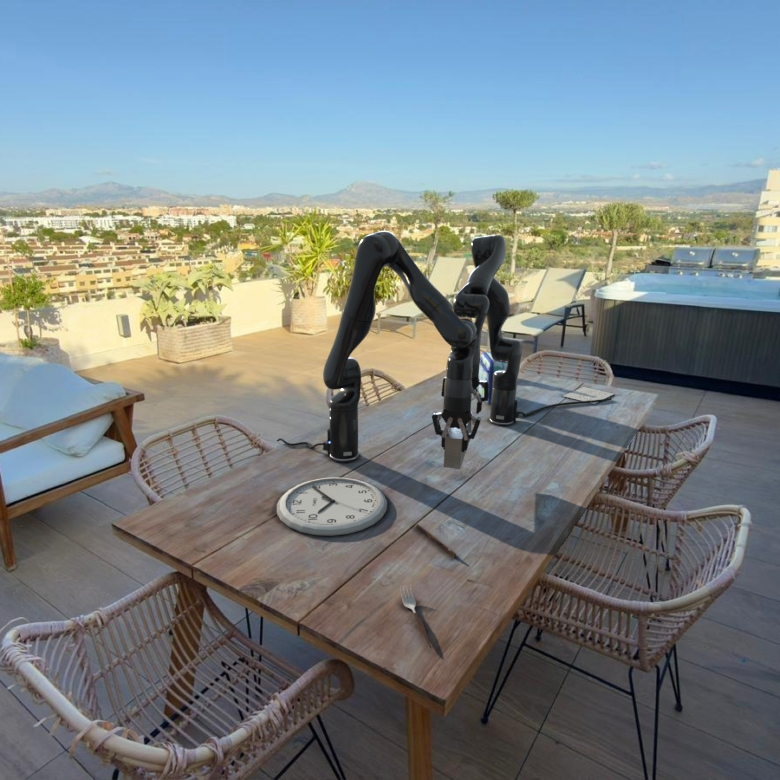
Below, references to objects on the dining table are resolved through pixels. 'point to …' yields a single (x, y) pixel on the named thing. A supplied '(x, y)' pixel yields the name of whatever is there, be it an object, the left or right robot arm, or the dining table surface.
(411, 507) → the dining table surface
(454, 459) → the bar
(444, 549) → the brown wooden stick
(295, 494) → the wall clock
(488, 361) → the lunch box
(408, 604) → the fork
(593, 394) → the invitation card
